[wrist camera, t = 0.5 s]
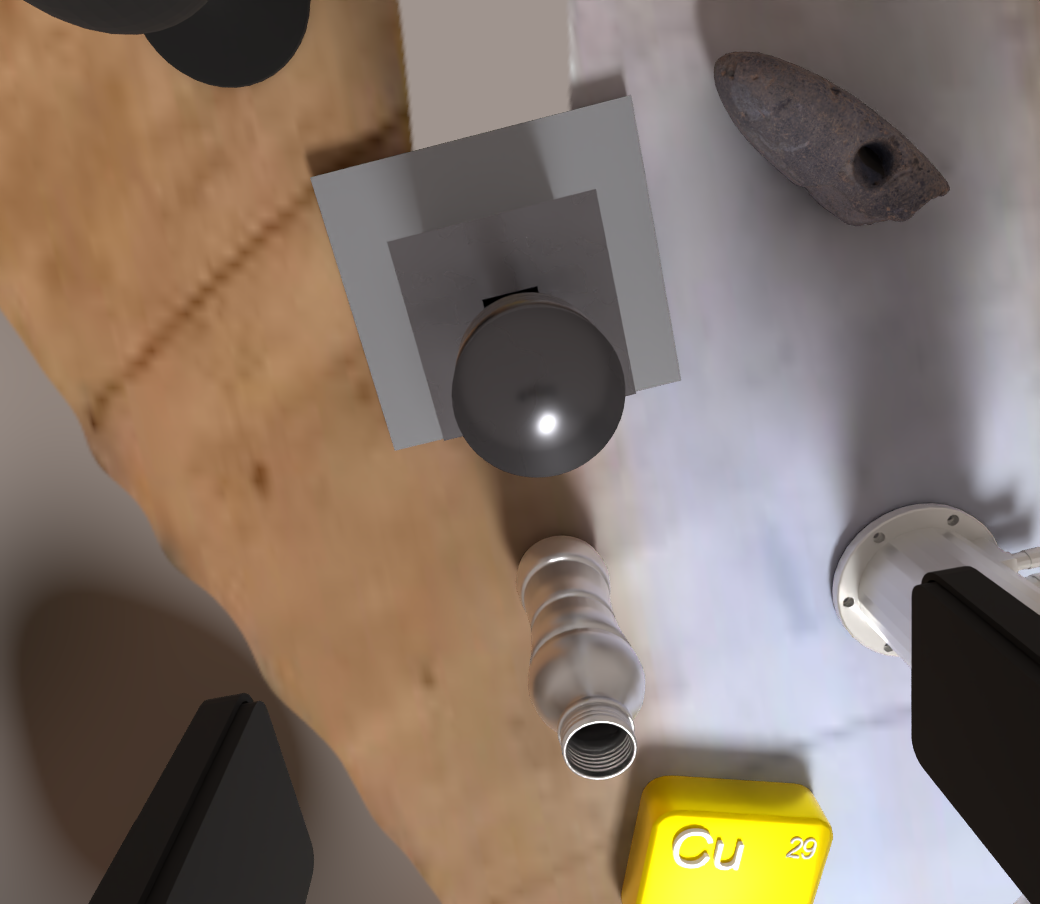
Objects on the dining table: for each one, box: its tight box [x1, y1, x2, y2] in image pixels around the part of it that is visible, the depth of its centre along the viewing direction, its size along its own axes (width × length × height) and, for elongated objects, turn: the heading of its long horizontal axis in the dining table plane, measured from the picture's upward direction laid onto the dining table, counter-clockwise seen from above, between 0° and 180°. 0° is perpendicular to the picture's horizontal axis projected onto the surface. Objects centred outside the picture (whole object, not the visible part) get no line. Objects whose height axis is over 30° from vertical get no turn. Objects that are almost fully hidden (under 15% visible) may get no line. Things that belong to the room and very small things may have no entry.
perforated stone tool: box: [714, 52, 950, 226], centre depth 44 cm, size 15×5×7 cm, turn 54°
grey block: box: [387, 189, 636, 441], centre depth 40 cm, size 9×12×17 cm
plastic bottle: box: [516, 535, 645, 780], centre depth 46 cm, size 6×7×20 cm
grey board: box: [311, 95, 681, 450], centre depth 48 cm, size 20×18×1 cm
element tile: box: [621, 776, 833, 904], centre depth 63 cm, size 15×15×5 cm
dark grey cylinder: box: [452, 292, 625, 477], centre depth 28 cm, size 4×4×20 cm
